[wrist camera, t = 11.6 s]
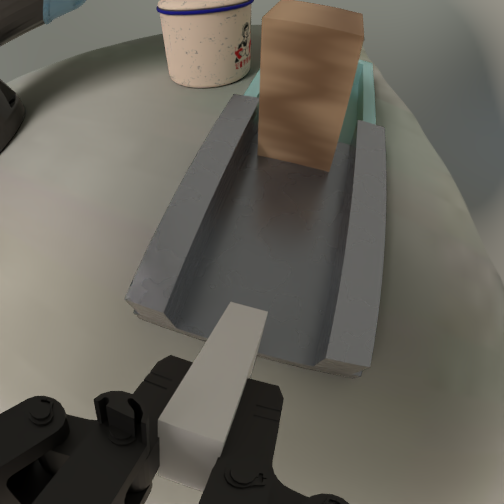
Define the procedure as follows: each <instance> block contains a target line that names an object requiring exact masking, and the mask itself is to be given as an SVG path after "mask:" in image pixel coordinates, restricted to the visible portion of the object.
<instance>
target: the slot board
mask: <svg viewBox="0 0 504 504" xmlns="http://www.w3.org/2000/svg"><path fill="white" fill-rule="evenodd" d="M258 124H259V98H257V97H251V96H244V95H237V94H233V96H232V97H231V99H230V101H229V102H228V104H227V105H226V107H225V108H224V110H223V112H222V113H221V115H220V116H219V118H218V120H217V121H216V123H215V125H214V126H213V128H212V129H211V131H210V133H209V134H208V136H207V138H206V139H205V141H204V143H203V145H202V146H201V148H200V150H199V151H198V153H197V155H196V157H195V158H194V160H193V162H192V164H191V165H190V167H189V169H188V171H187V173H186V174H185V176H184V178H183V180H182V182H181V183H180V185H179V187H178V189H177V191H176V193H175V195H174V197H173V198H172V200H171V202H170V204H169V206H168V208H167V210H166V212H165V214H164V216H163V218H162V220H161V222H160V224H159V226H158V228H157V230H156V232H155V234H154V236H153V238H152V240H151V242H150V244H149V246H148V248H147V250H146V252H145V254H144V257H143V259H142V261H141V263H140V265H139V267H138V269H137V272H136V274H135V276H134V278H133V281H132V283H131V285H130V287H129V290H128V292H127V294H126V296H125V300H126V301H127V302H128V303H129V304H130V305H131V306H132V307H133V308H134V309H135V310H134V312H133V313H134V314H135V315H136V316H137V317H138V318H139V319H142V320H145V321H147V322H150V323H153V324H156V325H159V326H161V327H164V328H167V329H170V330H173V331H176V332H179V333H182V334H185V335H188V336H191V337H194V338H197V339H200V340H204V341H207V339H208V338H209V336H210V335H211V333H212V331H213V330H214V328H215V326H216V325H217V323H218V322H219V320H220V318H221V317H222V315H223V313H224V312H225V310H226V308H227V307H228V305H229V304H230V302H234V303H237V304H241V305H245V306H248V307H252V308H256V309H260V310H263V311H267V312H268V314H267V318H266V322H265V326H264V330H263V333H262V337H261V341H260V345H259V348H258V352H257V356H259V357H262V358H266V359H270V360H274V361H278V362H282V363H286V364H290V365H294V366H298V367H303V368H307V369H311V370H316V371H320V372H325V373H330V374H335V375H340V376H345V377H350V378H357V377H360V376H361V374H362V370H365V369H367V368H370V365H371V360H372V354H373V348H374V341H375V335H376V328H377V320H378V313H379V304H380V296H381V286H382V275H383V263H384V248H385V228H386V145H385V127H382V126H378V125H375V124H372V123H368V122H365V121H362V120H358V121H357V124H356V127H355V130H354V134H353V137H352V140H351V143H350V145H349V144H345V143H341V142H338V143H337V146H336V150H335V153H334V157H333V161H332V164H331V167H330V171H329V172H328V171H324V170H320V169H316V168H312V167H308V166H304V165H299V164H295V163H291V162H286V161H282V160H278V159H273V158H268V157H264V156H259V155H257V153H258Z"/></svg>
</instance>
